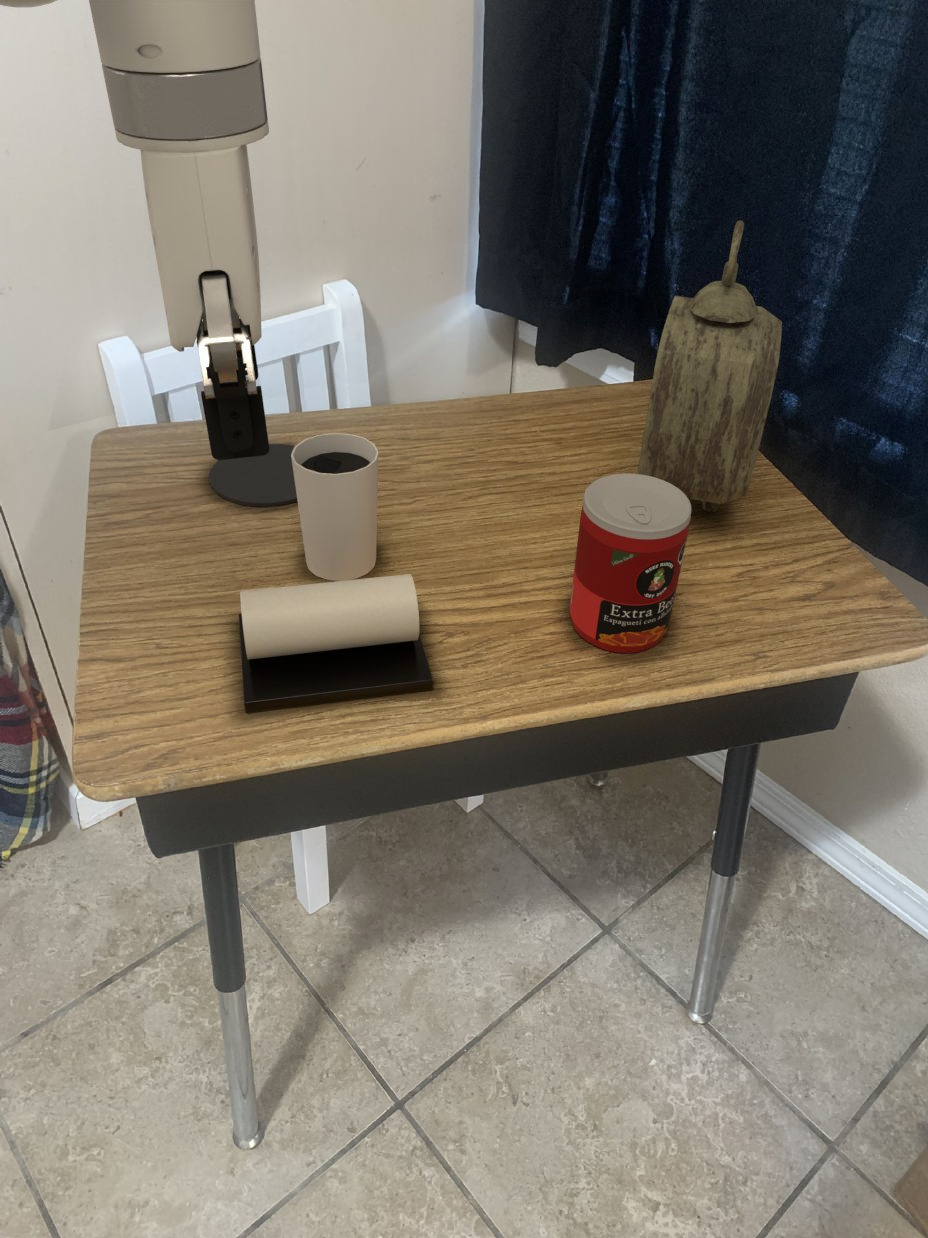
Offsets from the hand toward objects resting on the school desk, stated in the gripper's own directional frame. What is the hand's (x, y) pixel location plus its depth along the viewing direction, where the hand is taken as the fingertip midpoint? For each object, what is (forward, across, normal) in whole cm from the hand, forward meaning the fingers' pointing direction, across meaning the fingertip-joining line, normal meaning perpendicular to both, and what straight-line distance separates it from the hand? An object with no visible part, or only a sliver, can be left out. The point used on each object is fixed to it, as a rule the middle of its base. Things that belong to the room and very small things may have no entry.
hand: (237, 415), depth 59 cm
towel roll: (+18, +1, +4) cm, 19 cm away
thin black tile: (+19, +1, +4) cm, 20 cm away
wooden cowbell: (+21, -14, +38) cm, 46 cm away
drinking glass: (+20, -11, +6) cm, 24 cm away
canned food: (+20, +1, +26) cm, 33 cm away
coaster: (+20, -26, +2) cm, 33 cm away
